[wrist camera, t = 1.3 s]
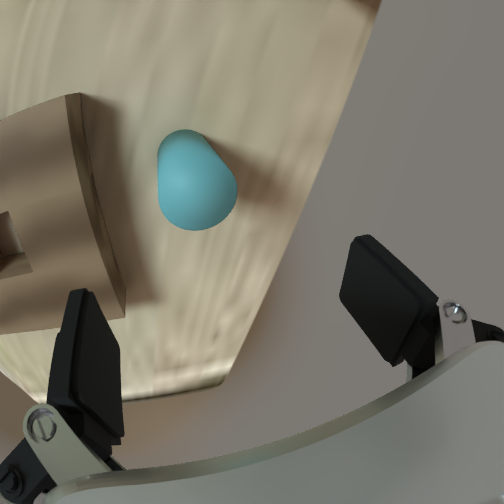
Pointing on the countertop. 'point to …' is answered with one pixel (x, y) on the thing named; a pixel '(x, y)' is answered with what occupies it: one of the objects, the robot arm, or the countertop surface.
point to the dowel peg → (193, 182)
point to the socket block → (52, 219)
